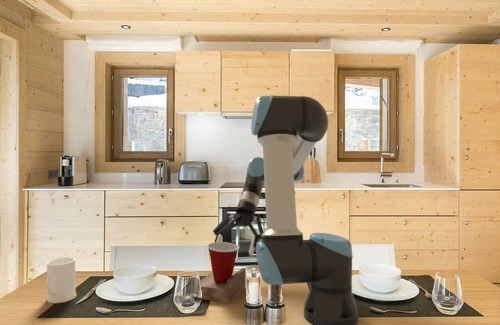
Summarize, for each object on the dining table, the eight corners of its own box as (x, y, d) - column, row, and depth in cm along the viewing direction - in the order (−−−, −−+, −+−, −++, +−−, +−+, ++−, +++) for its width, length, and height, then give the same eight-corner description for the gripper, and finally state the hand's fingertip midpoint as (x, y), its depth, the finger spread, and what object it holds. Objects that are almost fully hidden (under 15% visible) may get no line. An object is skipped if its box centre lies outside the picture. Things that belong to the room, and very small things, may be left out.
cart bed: (245, 288, 125) (245, 268, 125) (230, 303, 113) (230, 280, 113) (211, 283, 129) (211, 264, 129) (193, 297, 117) (193, 276, 117)
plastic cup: (238, 286, 116) (238, 249, 115) (204, 286, 116) (204, 249, 116) (240, 275, 127) (240, 241, 126) (209, 275, 127) (209, 241, 126)
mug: (58, 308, 109) (58, 269, 109) (32, 307, 110) (32, 268, 110) (81, 293, 121) (81, 257, 121) (58, 292, 122) (57, 256, 122)
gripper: (279, 213, 143) (268, 261, 129) (221, 209, 151) (205, 254, 138) (275, 201, 137) (263, 250, 124) (216, 198, 146) (198, 244, 133)
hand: (232, 253), depth 131 cm, fingers open, 13 cm apart
